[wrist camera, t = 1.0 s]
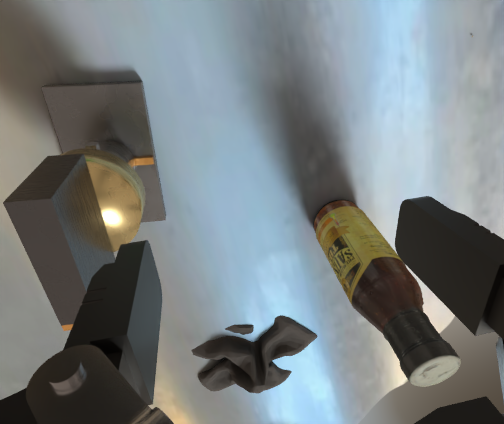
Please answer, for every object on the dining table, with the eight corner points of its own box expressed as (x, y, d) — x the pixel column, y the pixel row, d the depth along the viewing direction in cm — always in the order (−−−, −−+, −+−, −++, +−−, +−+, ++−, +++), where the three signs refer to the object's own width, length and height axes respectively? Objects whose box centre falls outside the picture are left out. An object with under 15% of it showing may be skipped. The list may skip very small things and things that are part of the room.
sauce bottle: (310, 203, 39) (400, 351, 22) (361, 192, 39) (488, 331, 22) (312, 246, 42) (390, 402, 26) (359, 236, 43) (467, 384, 26)
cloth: (324, 311, 50) (340, 346, 45) (295, 383, 59) (305, 419, 54) (174, 311, 45) (171, 350, 40) (168, 390, 55) (165, 430, 49)
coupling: (22, 142, 23) (-59, 207, 16) (133, 135, 24) (107, 194, 17) (64, 249, 28) (18, 337, 21) (155, 240, 29) (142, 321, 22)
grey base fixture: (45, 85, 28) (7, 105, 22) (142, 81, 29) (130, 99, 23) (89, 222, 36) (69, 264, 30) (166, 215, 37) (161, 255, 31)
